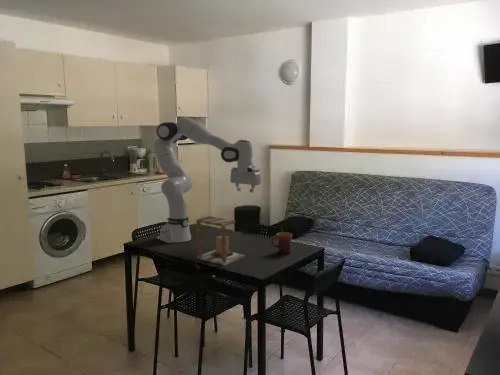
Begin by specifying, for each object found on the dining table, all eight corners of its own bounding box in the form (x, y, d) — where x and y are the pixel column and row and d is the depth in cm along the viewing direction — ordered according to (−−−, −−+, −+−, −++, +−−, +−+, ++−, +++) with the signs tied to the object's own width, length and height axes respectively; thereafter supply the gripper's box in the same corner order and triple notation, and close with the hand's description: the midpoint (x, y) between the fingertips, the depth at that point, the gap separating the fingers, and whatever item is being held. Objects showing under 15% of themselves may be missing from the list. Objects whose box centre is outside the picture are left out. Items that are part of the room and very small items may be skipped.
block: (215, 255, 227) (215, 237, 225) (222, 253, 230) (221, 235, 229) (223, 257, 223) (222, 238, 222) (229, 254, 227) (228, 236, 226)
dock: (197, 258, 225) (196, 219, 222) (218, 251, 238) (217, 213, 235) (224, 265, 214) (223, 224, 211) (244, 257, 227) (244, 218, 224)
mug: (289, 249, 239) (289, 231, 238) (294, 254, 231) (294, 235, 229) (269, 251, 237) (268, 233, 236) (272, 255, 229) (272, 237, 227)
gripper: (227, 167, 251) (228, 190, 253) (255, 169, 239) (255, 194, 241) (234, 166, 256) (234, 189, 258) (262, 168, 244) (262, 192, 246)
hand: (245, 191), depth 249 cm, fingers open, 8 cm apart
